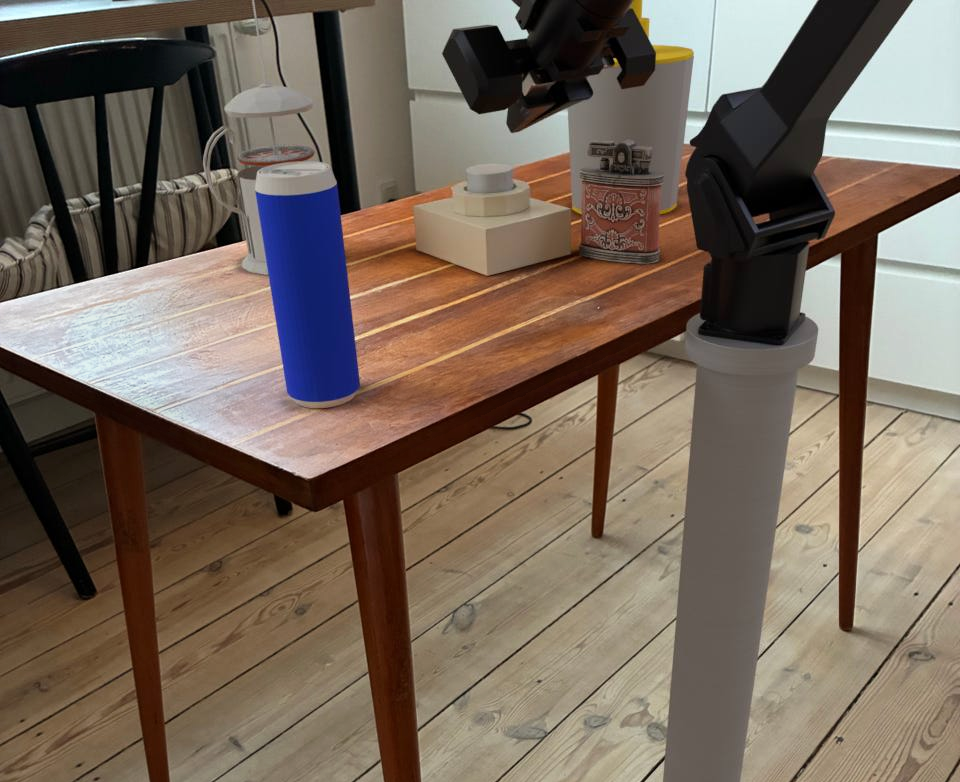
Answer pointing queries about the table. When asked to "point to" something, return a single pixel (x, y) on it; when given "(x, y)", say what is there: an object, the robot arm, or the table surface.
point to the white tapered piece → (636, 117)
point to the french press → (259, 154)
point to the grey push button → (489, 178)
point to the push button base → (493, 229)
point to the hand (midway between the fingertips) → (511, 128)
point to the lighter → (620, 204)
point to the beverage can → (308, 281)
